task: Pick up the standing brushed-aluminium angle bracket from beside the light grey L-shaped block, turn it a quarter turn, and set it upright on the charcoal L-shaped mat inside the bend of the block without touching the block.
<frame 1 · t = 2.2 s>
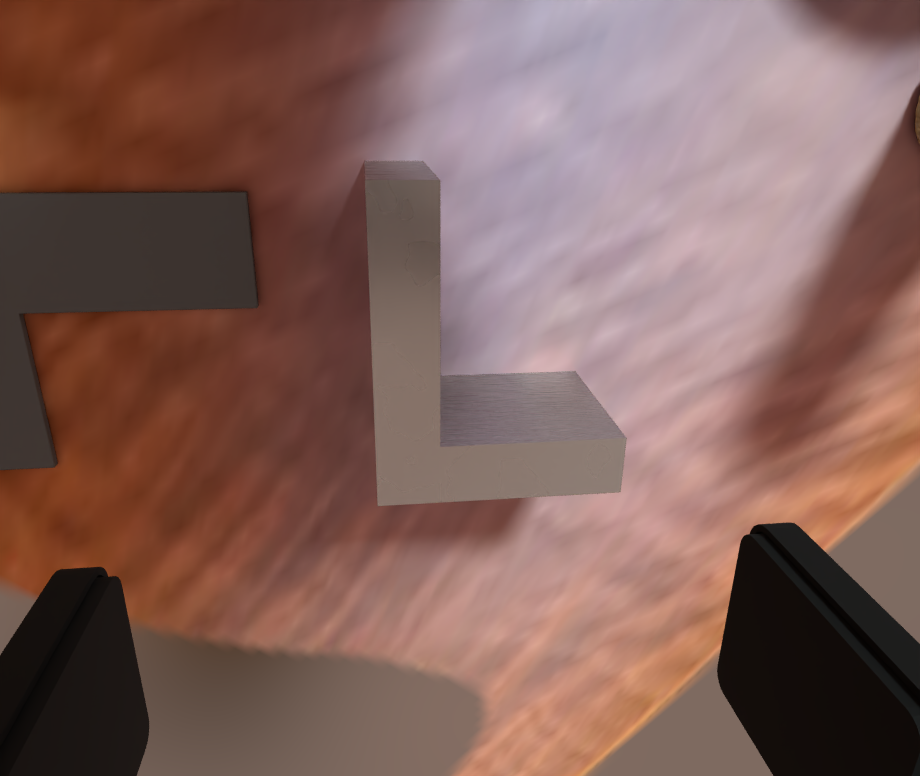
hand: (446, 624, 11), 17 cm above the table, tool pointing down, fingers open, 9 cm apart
pose mat: (71, 252, 24), on the table
angle bracket: (397, 302, 26), on the table
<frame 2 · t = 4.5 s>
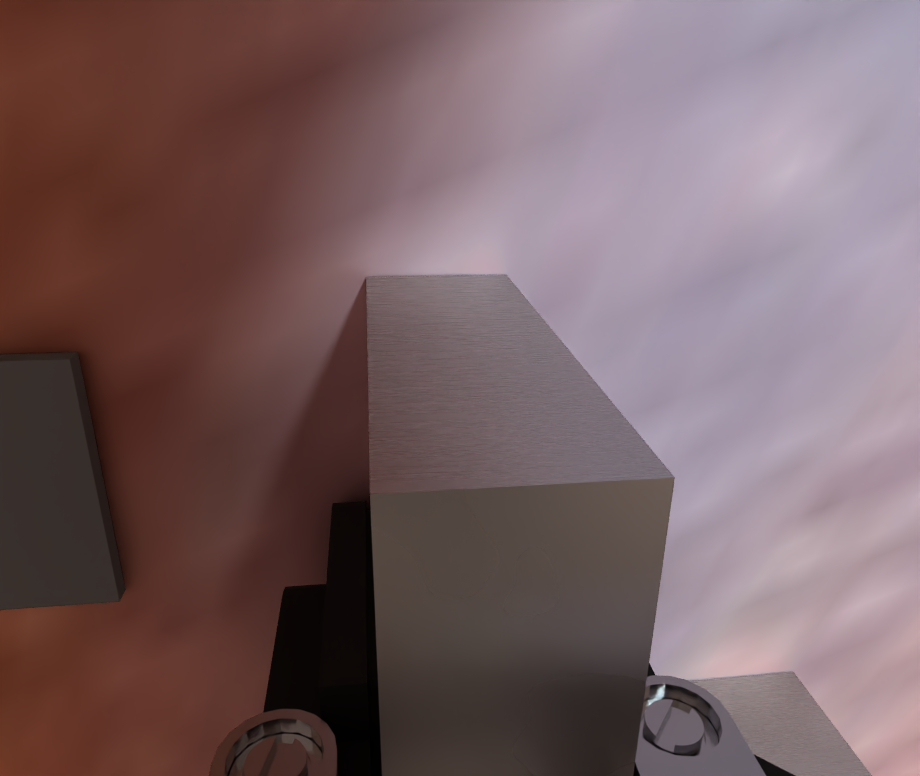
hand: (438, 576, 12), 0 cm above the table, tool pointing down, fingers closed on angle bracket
angle bracket: (437, 568, 12), on the table, touching gripper
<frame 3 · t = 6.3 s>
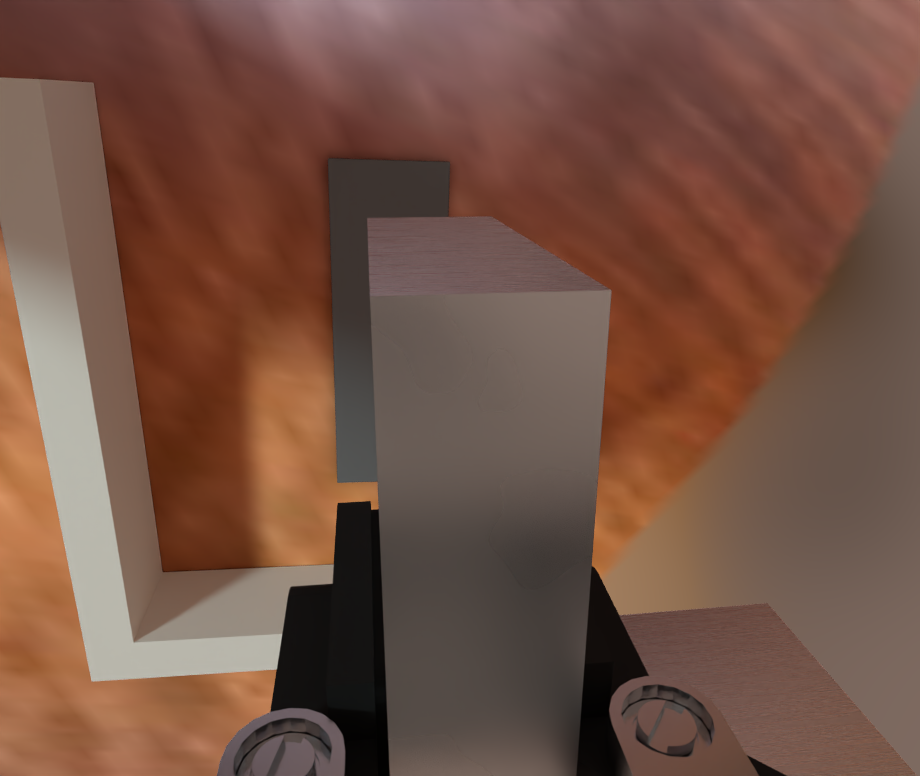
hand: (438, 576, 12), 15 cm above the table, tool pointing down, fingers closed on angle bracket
pose mat: (389, 332, 26), on the table
angle bracket: (433, 495, 13), point 14 cm above the table, touching gripper
light grey l-shaped block: (307, 384, 26), on the table
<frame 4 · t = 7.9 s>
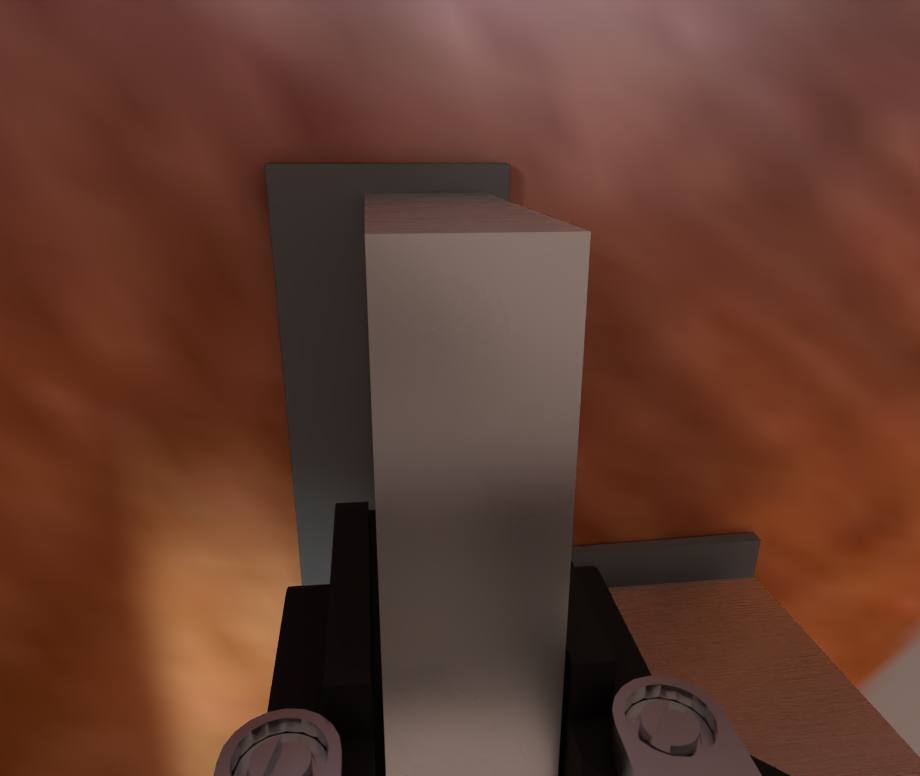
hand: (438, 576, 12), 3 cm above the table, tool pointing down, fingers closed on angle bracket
pose mat: (397, 477, 14), on the table
angle bracket: (428, 466, 13), point 1 cm above the table, touching gripper, pose mat
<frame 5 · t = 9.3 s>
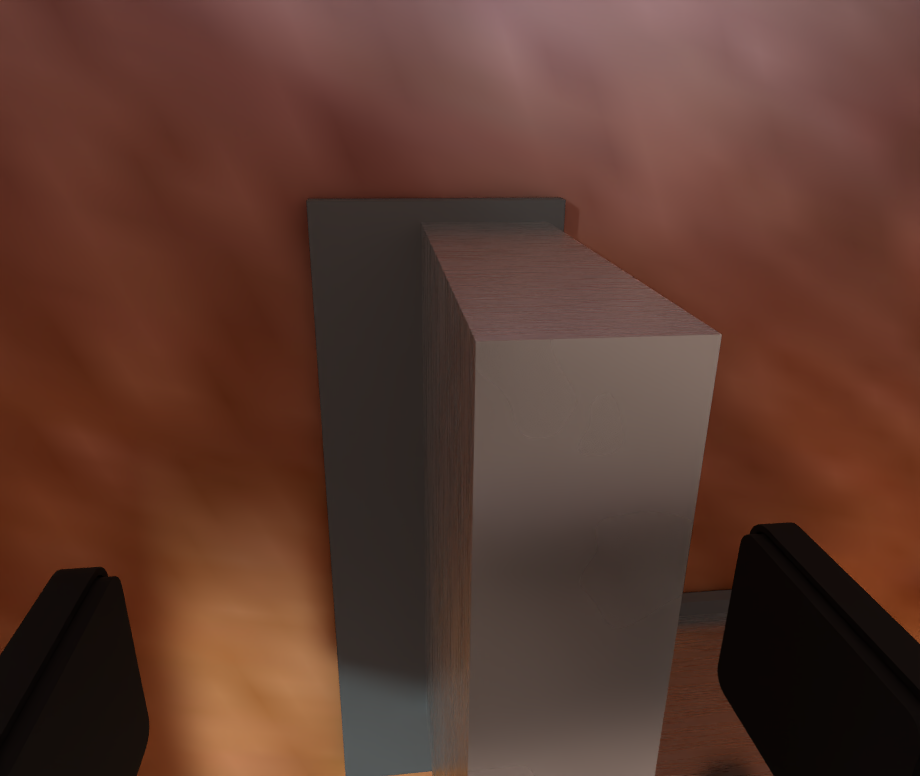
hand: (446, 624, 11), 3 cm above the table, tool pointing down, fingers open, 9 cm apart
pose mat: (437, 524, 13), on the table
angle bracket: (478, 499, 13), on the table, touching pose mat
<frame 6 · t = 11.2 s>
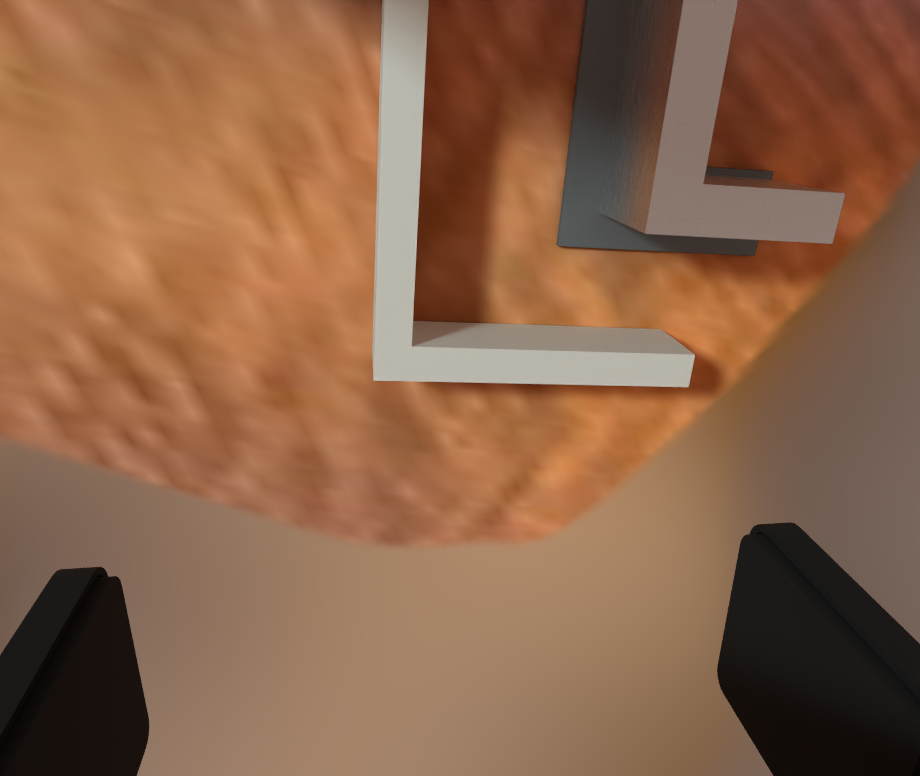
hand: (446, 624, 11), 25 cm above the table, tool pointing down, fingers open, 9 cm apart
pose mat: (615, 113, 32), on the table
angle bracket: (635, 99, 32), on the table, touching pose mat
light grey l-shaped block: (546, 155, 32), on the table
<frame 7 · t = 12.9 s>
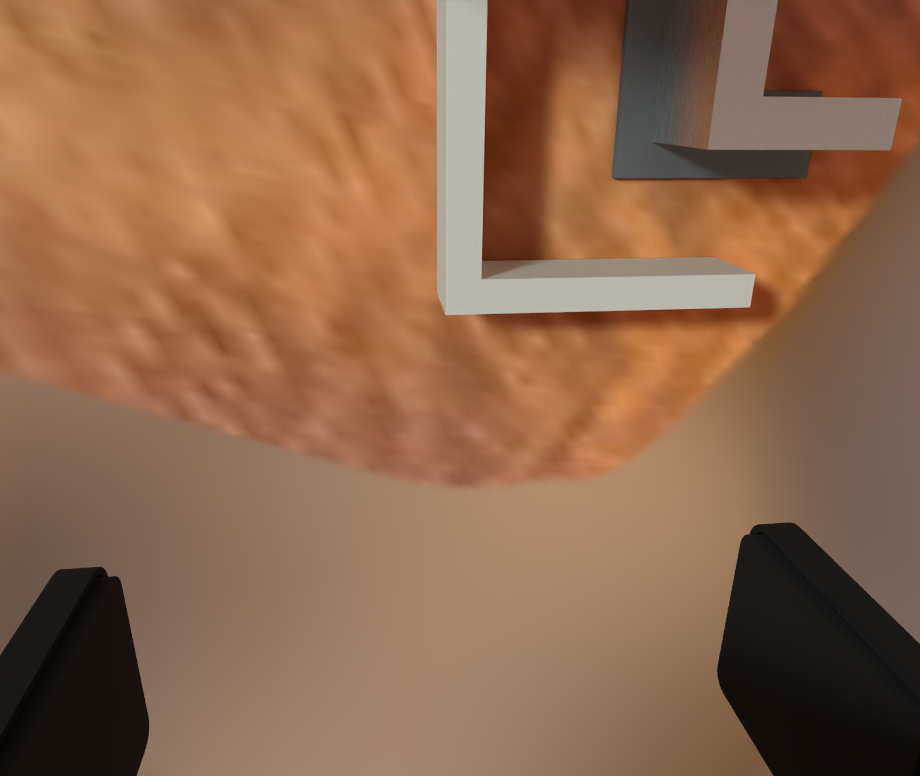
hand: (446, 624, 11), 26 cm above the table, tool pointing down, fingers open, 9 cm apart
pose mat: (665, 42, 33), on the table
angle bracket: (685, 25, 32), on the table, touching pose mat
light grey l-shaped block: (598, 88, 33), on the table
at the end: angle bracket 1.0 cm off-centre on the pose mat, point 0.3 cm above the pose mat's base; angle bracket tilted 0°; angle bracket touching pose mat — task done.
